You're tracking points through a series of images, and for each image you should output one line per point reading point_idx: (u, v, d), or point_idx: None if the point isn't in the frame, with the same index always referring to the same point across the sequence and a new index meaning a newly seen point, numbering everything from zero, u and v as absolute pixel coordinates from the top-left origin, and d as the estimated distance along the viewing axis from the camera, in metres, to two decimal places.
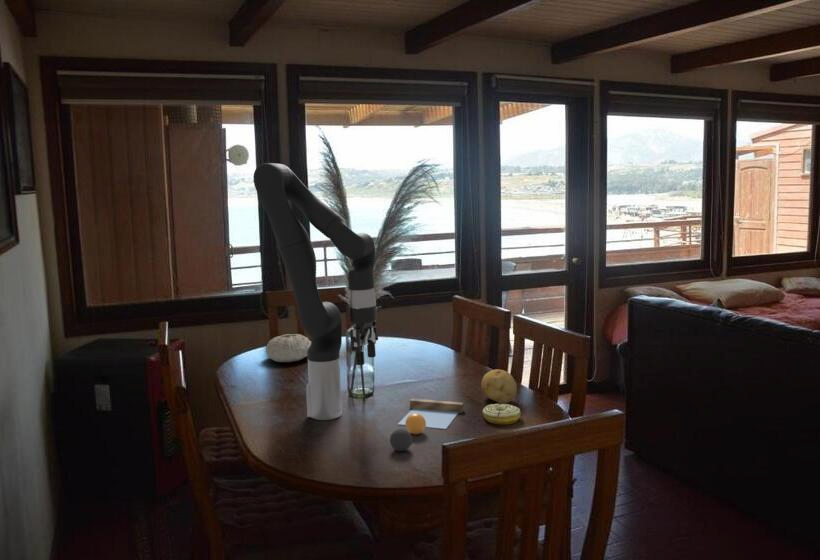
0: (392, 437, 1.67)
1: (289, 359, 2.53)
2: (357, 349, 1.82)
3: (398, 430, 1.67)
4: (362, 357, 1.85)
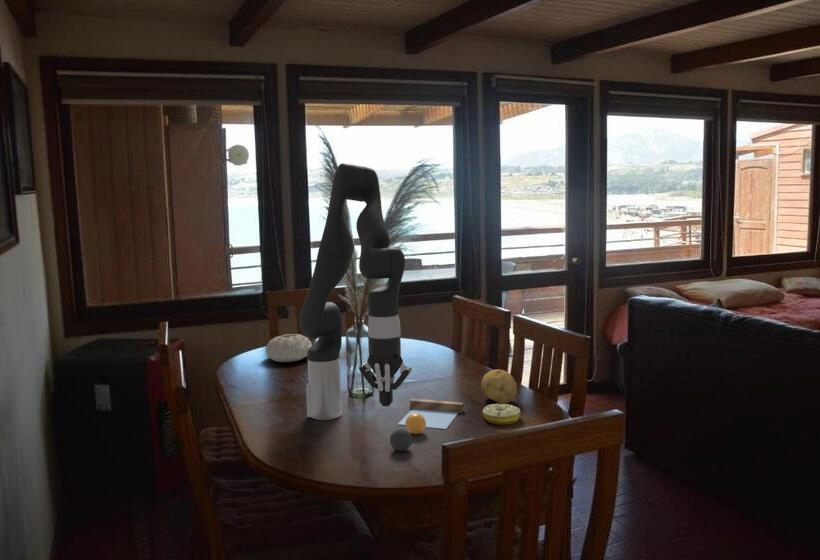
0: (392, 437, 1.67)
1: (289, 359, 2.53)
2: (398, 386, 1.57)
3: (398, 430, 1.67)
4: None
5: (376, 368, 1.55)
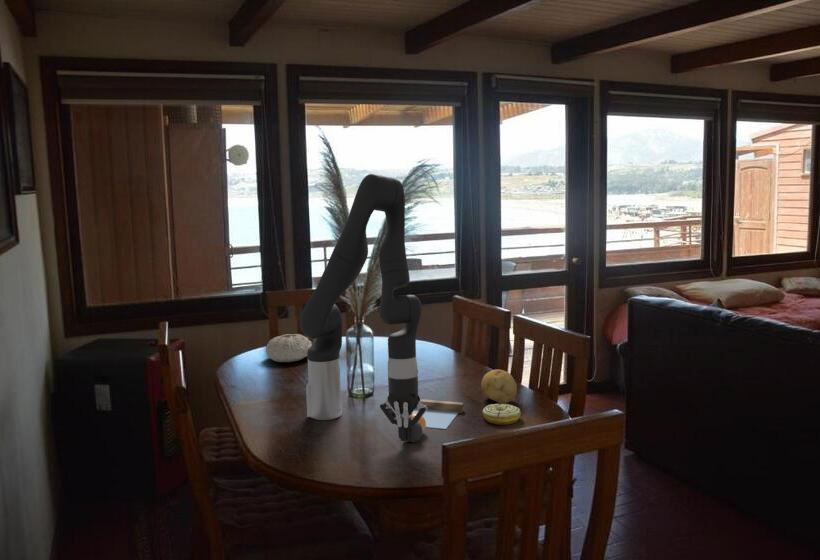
0: None
1: (289, 359, 2.53)
2: (416, 422, 1.70)
3: None
4: None
5: (395, 406, 1.68)
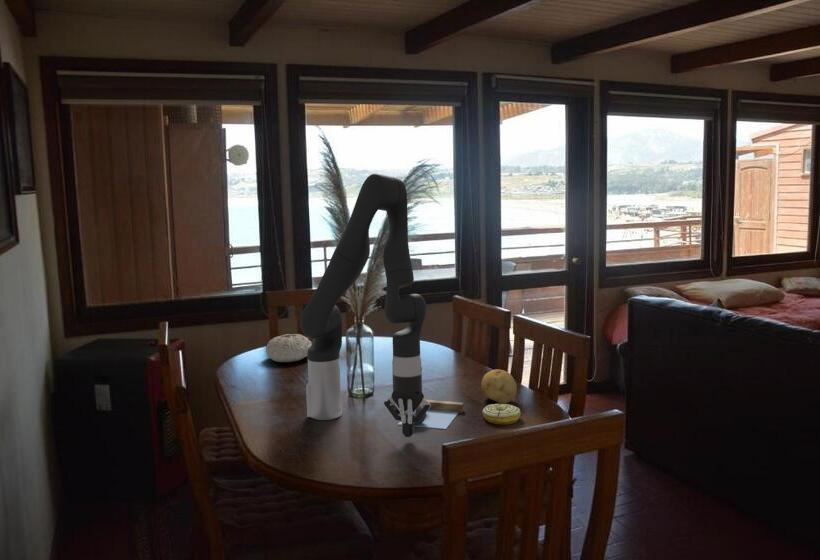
0: None
1: (289, 359, 2.53)
2: None
3: None
4: None
5: (400, 403, 1.71)
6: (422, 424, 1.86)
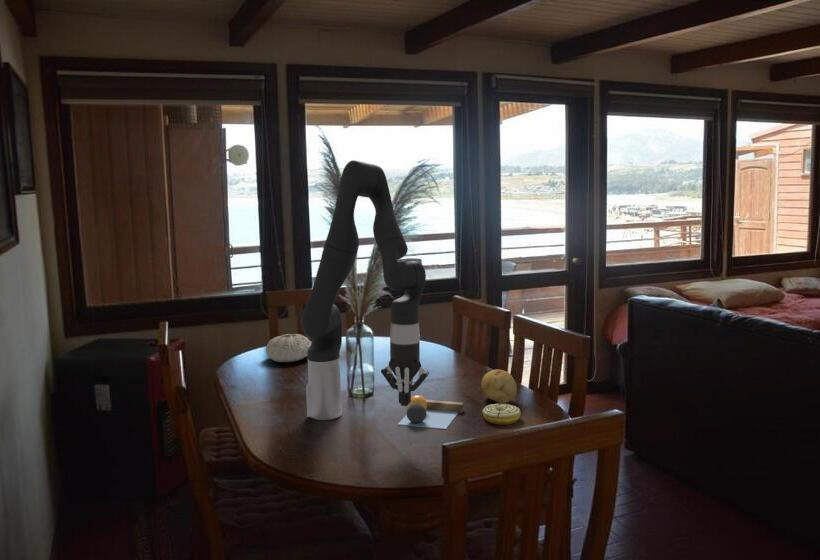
0: (411, 420, 1.86)
1: (289, 359, 2.53)
2: (416, 388, 1.71)
3: (416, 414, 1.85)
4: None
5: (397, 371, 1.70)
6: (422, 424, 1.86)
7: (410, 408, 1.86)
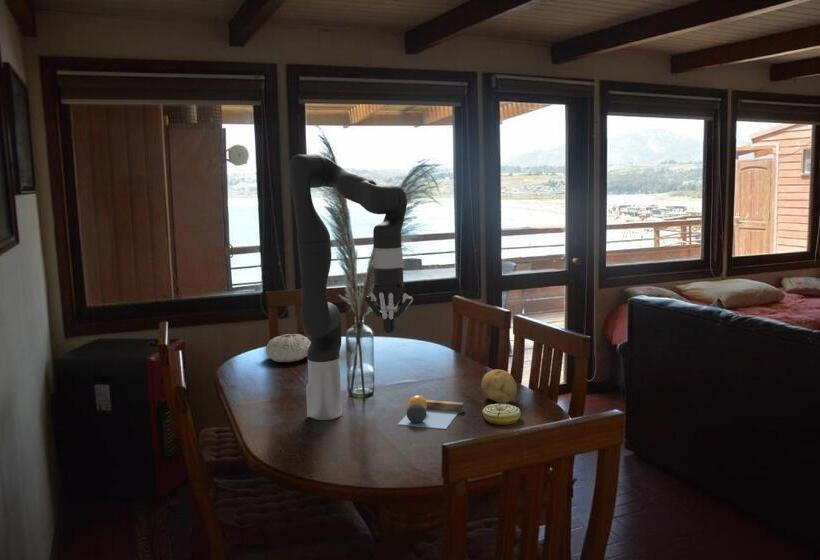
0: (411, 420, 1.86)
1: (289, 359, 2.53)
2: (401, 314, 1.70)
3: (416, 414, 1.85)
4: None
5: (380, 297, 1.68)
6: (422, 424, 1.86)
7: (410, 408, 1.86)
